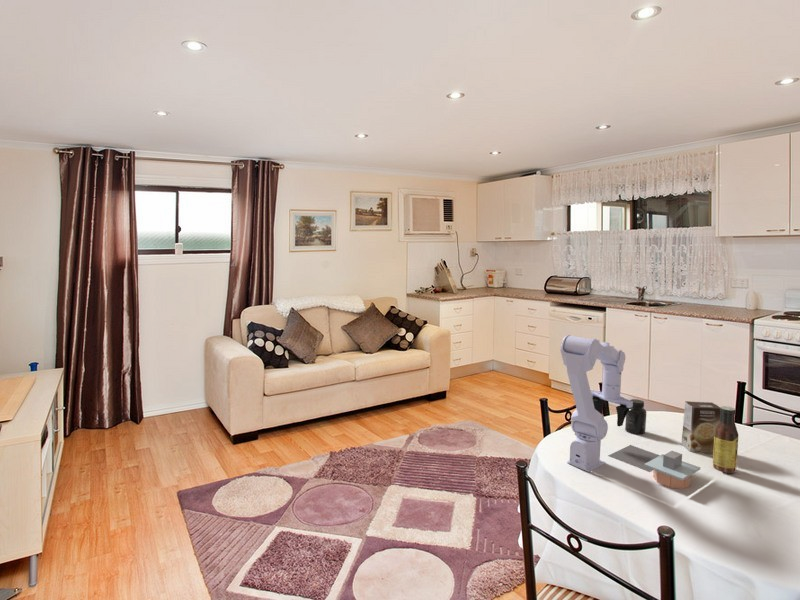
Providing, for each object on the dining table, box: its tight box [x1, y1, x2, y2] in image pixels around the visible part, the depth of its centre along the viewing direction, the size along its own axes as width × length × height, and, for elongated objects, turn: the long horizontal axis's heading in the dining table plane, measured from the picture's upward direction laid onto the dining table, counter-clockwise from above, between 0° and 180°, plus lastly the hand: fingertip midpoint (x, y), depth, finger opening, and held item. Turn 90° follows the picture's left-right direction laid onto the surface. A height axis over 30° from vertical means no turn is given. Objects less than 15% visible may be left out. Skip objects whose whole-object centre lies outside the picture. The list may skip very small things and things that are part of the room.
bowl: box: [652, 469, 691, 489], centre depth 148 cm, size 9×9×4 cm
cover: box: [644, 450, 701, 481], centre depth 147 cm, size 11×11×4 cm
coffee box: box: [680, 400, 721, 455], centre depth 168 cm, size 9×6×16 cm
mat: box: [607, 444, 660, 473], centre depth 163 cm, size 14×14×1 cm
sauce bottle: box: [712, 405, 739, 474], centre depth 154 cm, size 6×6×20 cm
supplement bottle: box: [624, 398, 647, 436], centre depth 184 cm, size 7×7×12 cm
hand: (609, 422), depth 170 cm, fingers open, 7 cm apart
